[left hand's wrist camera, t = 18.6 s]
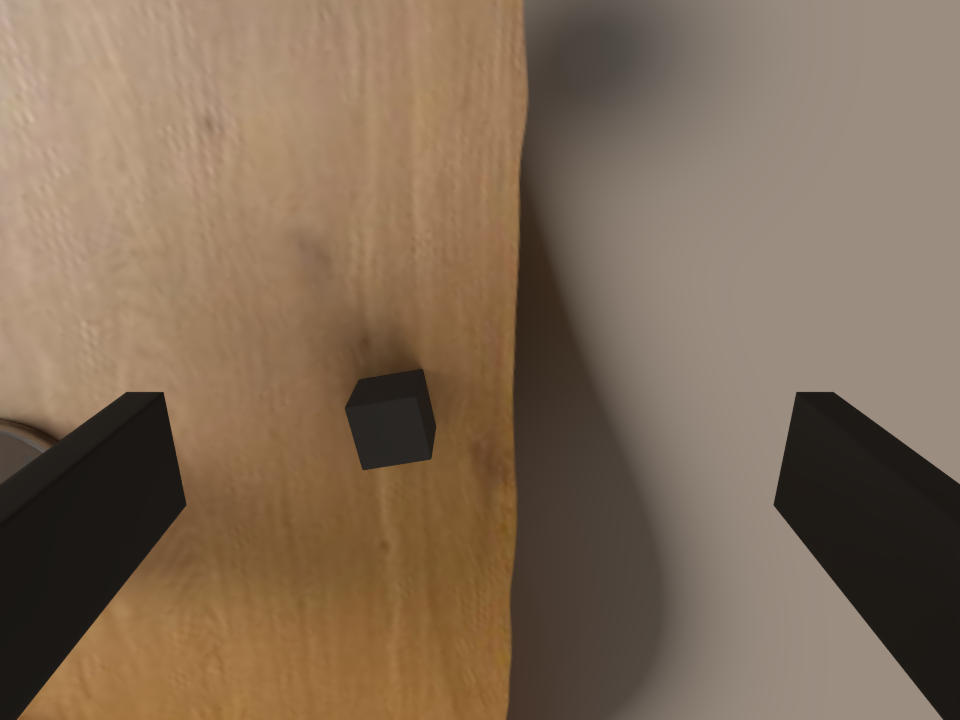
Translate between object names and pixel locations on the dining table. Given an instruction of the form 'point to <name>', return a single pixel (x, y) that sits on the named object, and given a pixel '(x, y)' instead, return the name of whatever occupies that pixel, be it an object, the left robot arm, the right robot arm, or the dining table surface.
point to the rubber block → (392, 419)
